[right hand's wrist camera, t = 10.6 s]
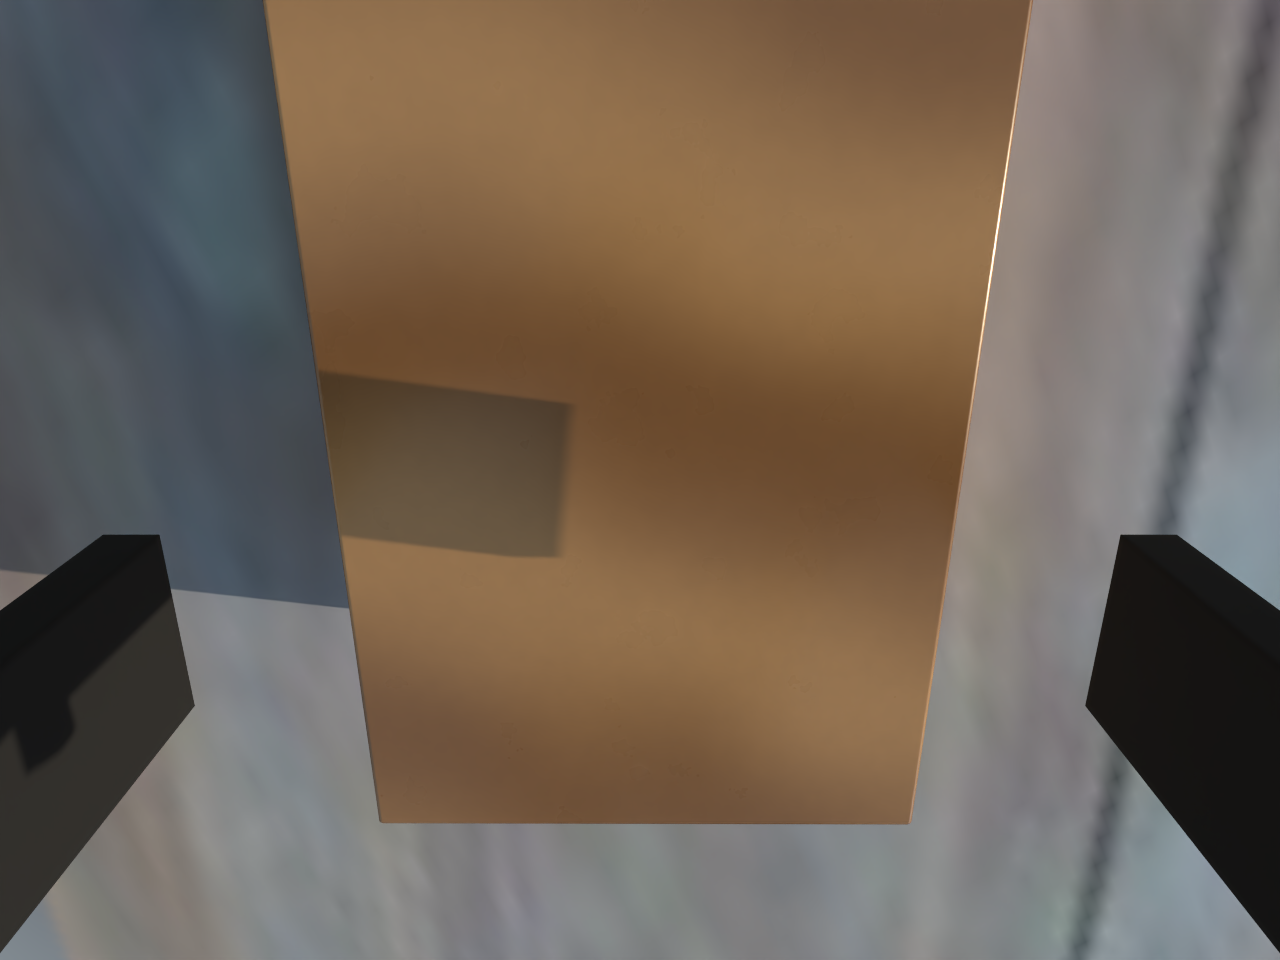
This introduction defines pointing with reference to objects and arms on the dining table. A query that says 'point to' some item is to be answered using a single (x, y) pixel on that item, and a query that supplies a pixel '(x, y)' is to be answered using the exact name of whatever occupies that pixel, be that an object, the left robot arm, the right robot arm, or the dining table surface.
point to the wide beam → (646, 386)
